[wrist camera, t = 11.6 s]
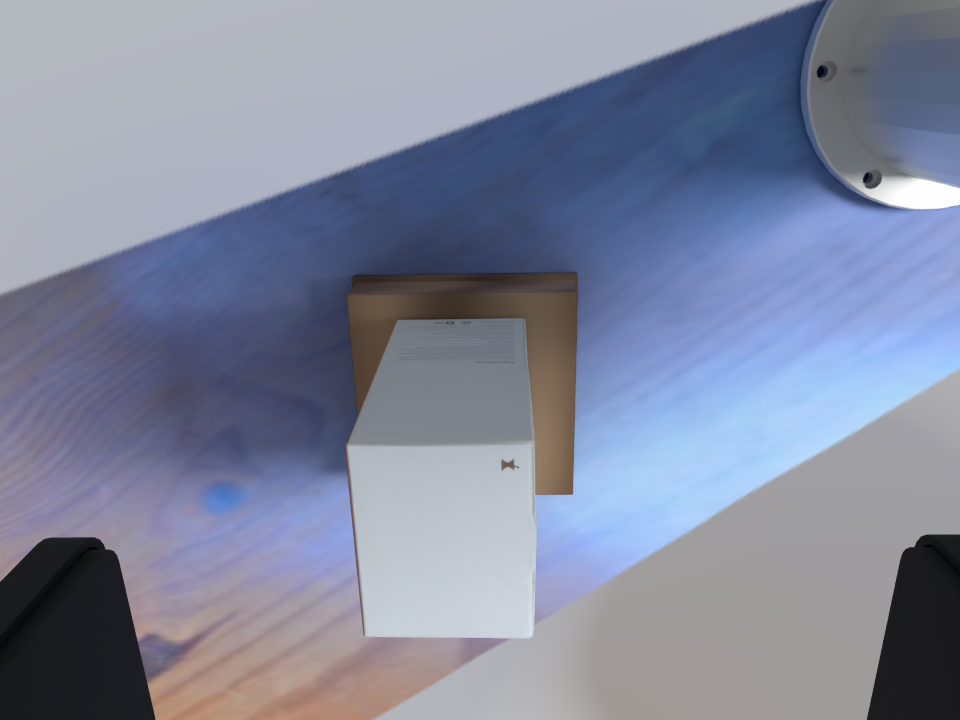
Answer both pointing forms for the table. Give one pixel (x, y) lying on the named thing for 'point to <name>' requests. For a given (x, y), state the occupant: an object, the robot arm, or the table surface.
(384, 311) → the plinth
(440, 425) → the small box
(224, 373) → the table surface
